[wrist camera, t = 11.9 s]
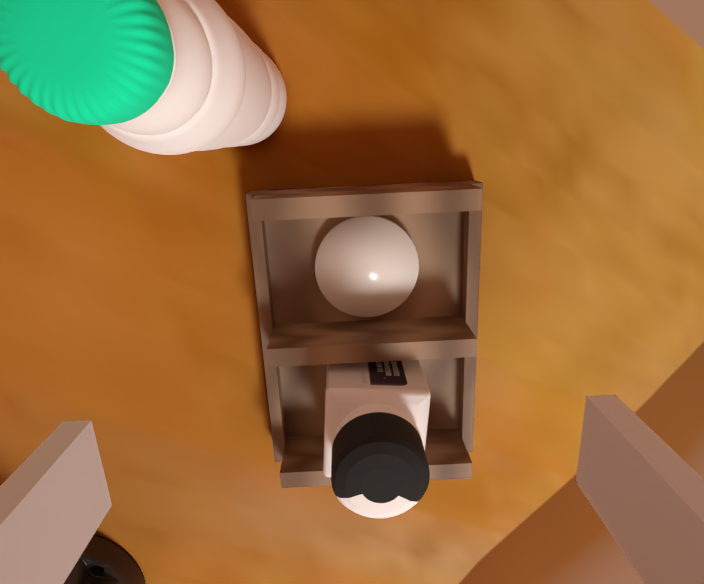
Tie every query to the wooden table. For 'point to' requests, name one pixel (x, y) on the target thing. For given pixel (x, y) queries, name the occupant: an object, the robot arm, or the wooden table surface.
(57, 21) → the water bottle
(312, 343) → the rack
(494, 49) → the wooden table surface
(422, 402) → the container
